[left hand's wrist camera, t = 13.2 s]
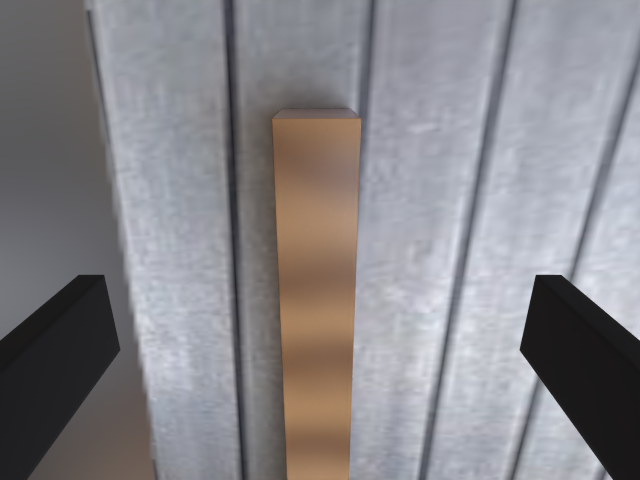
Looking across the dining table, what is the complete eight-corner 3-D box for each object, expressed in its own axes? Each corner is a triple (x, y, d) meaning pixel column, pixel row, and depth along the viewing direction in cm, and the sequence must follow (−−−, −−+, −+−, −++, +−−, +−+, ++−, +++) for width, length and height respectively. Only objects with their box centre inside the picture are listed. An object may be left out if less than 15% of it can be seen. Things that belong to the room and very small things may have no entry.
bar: (281, 108, 33) (271, 118, 26) (351, 108, 33) (361, 118, 26) (296, 553, 54) (293, 629, 46) (339, 552, 54) (343, 629, 46)
